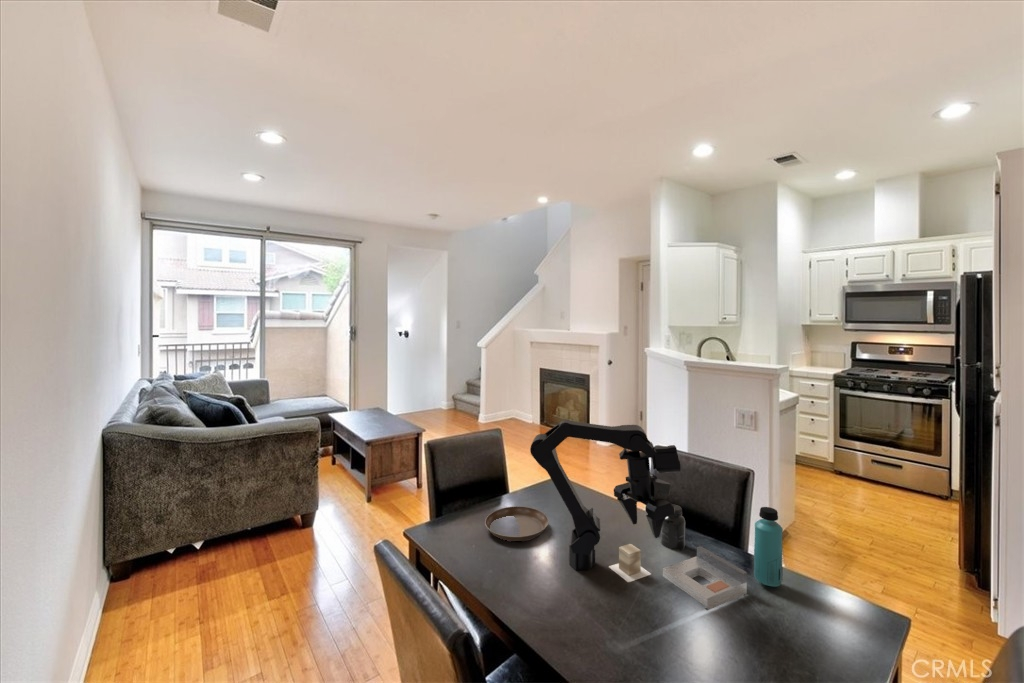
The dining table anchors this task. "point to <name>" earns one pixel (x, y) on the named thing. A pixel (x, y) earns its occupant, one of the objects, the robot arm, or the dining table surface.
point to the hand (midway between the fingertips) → (645, 530)
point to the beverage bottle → (768, 548)
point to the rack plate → (708, 578)
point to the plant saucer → (520, 522)
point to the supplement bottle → (674, 530)
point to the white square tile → (632, 577)
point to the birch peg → (629, 559)
